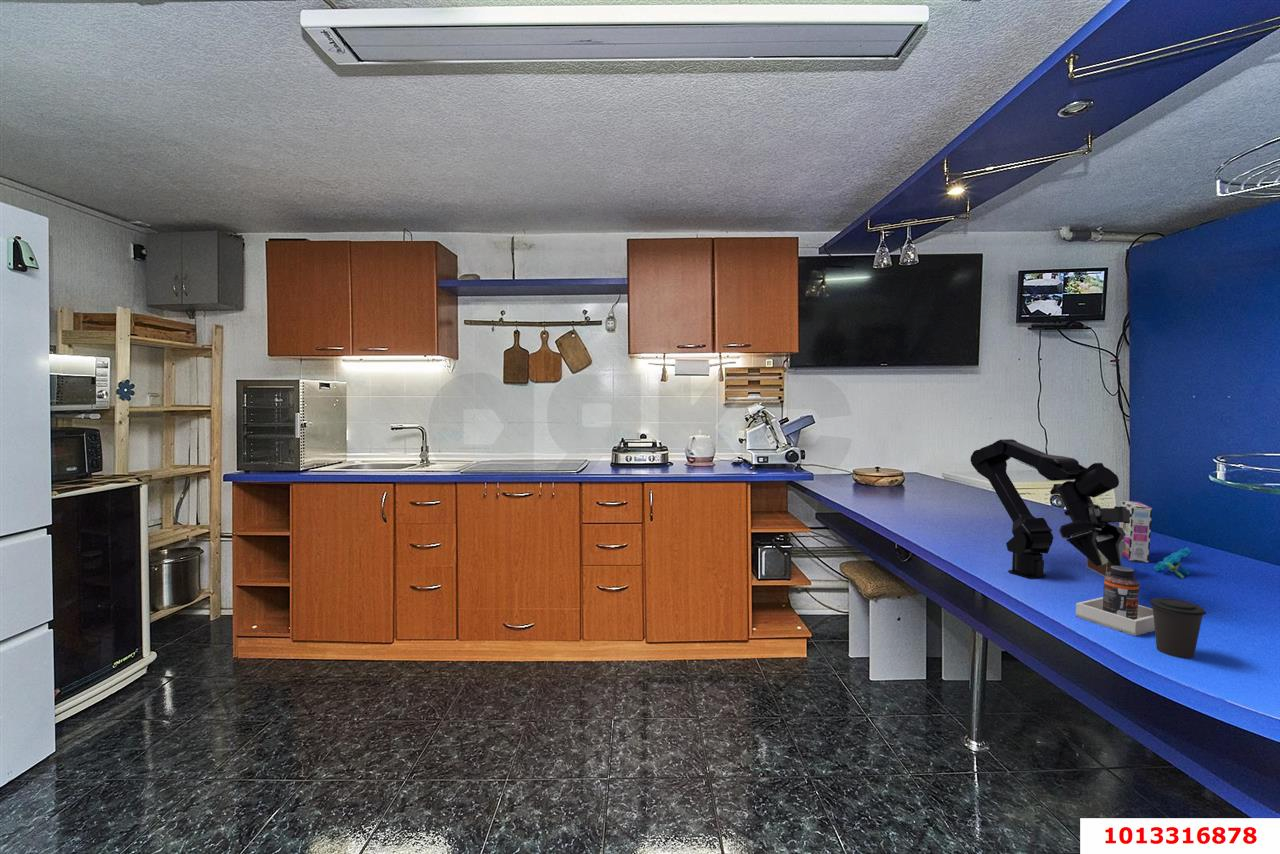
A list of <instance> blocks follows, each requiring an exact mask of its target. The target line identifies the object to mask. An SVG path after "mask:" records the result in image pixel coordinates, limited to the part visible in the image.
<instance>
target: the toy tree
mask: <svg viewBox="0 0 1280 854" xmlns="http://www.w3.org/2000/svg"><path fill="white" fill-rule="evenodd" d="M1190 552H1192V549H1190V548H1189V547H1185V548H1180V549H1179V550H1178V551H1174V552H1172V553H1171V554H1170V555H1168V556H1166V557H1164V558H1163V560H1162V561H1160V560H1159V561H1158V562H1157V563H1156V565H1154V566H1153V570H1154V571H1156V572H1158V571H1163V570H1165V569H1166V568H1168V569H1169V571H1170V572H1171V573H1173V572H1174V573H1175V574H1176V575H1177V576H1178V577H1180V578H1181V579H1184V578H1185V576H1184V575H1186V576H1189V575H1191V572H1190V571H1189V570H1188V569H1186V568H1185V566H1183V565H1182V564H1181V563H1182V562H1181V560H1182V558H1186V557H1187V556H1188V555H1189V554H1190ZM1178 569H1179V570H1180V571H1181V572H1183V573H1184V575H1183V574H1182V573H1181V572H1179V571H1178Z"/></svg>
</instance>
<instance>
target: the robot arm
mask: <svg viewBox="0 0 1280 854" xmlns="http://www.w3.org/2000/svg"><path fill="white" fill-rule="evenodd" d="M1011 458H1012V459H1013V460H1014V459H1015V460H1017V461H1019V462H1021V463H1023V464H1026V465H1028V466H1031V467H1033V468H1035V469H1036V470H1037V473H1038V474H1040V475H1041V476H1042V477H1044V478H1045V479H1047V480H1048V481H1050V482H1056V481H1057V482H1058V481H1061V482H1062V481H1065V482H1063V483H1054V484H1053V486H1052V488H1051V490H1050V492H1049V493H1050V495H1052V496H1053V495H1059V497H1060V499H1061V501H1062V503H1063V506H1064V507H1065V509H1066V510H1064V512H1063V513H1064V515H1065V516H1067V517H1069V518H1070V520H1071V522H1069V523H1065V524H1063V525H1061V526H1060V527H1059V530H1058V531H1059V533H1060V536H1061V538H1062V539H1064V540H1065V539H1066V542H1068V544H1069V543H1070V544H1071V545H1072V546H1073V547H1074V548H1075V549H1077V551H1079V552H1080V553H1081V554H1083V556H1085V558H1086V559H1087V558H1088V559H1089V560H1090V561H1092V562H1093V563H1094V564H1095V565H1096V566H1101V565H1102V562H1101V558H1100V555H1099V552H1098V550H1099V551H1100V552H1101V553H1102V554H1103V555H1104V556H1105V557H1106V558H1107V559H1108V560H1109V561H1110V563H1111V564H1112V565H1113V566H1122V559H1121V560H1120V553H1119V543H1120V542H1121V540H1123V539H1124V536H1126V534H1125V532H1124V530H1123V528H1121V527H1119V525H1114V524H1111V523H1120V522H1123V523H1130V517H1132V514H1131V513H1130V510H1128V509H1126V507H1123V506H1121V505H1120V506H1121V507H1120V506H1113V508H1112V507H1108V508H1106V507H1105V508H1102V507H1101V506H1100V505H1098V504H1095V503H1094V501H1093V500H1092V498H1096V497H1099V496H1101V495H1103V494H1105V493H1108V492H1109V491H1112V490H1114V489H1117V488H1118V487H1119V484H1120V480H1119V479H1120V478H1119V477H1118V475H1117V473H1115V472H1113V471H1112V470H1111V469H1110V468H1108V467H1106V466H1104V463H1102V462H1094V463H1092V464H1090V465H1089V466H1088V467H1086V466H1083V465H1082V464H1080V463H1079V461H1078V459H1075V458H1074V457H1073V458H1072V457H1069V456H1063V455H1056V454H1055V455H1054V454H1048V453H1046V452H1044V451H1041V450H1039V449H1035V448H1034V447H1032V446H1031V447H1030V446H1028V445H1025V444H1023V443H1020V442H1019V441H1017V440H1015V439H1013V438H1011V439H1010V438H1009V439H1003V438H1002V439H998V440H996V441H995V442H993V443H991V444H989V445H985V446H984V447H981V448H980V449H976V450H974V451H973V452H972V454H971V455H970V464H971V465H972V467H973V468H974V469H975V471H976V472H977V473H978V474H980V476H982V477H984V478H985V479H987V481H989V483H990V485H991V486H992V488H993V490H994V492H995V493H996V495H997V497H998V498H999V501H1000V502H1001V504H1002V505H1003V507H1004V509H1005V510H1006V512H1007V514H1008V516H1009V517H1010V520H1011V522H1012V528H1011V533H1012V535H1013V536H1012V537H1011V538H1010V539H1009V540H1008V541H1007V542H1006V543H1005V545H1006V548H1007V551H1008V552H1011V553H1012V562H1011V563H1012V564H1011V566H1012V567H1011V569H1008V570H1007V572H1008V573H1010V574H1014V575H1017V576H1020V577H1023V578H1028V579H1036V578H1040V577H1046V576H1047V574H1046V573H1044V569H1045V560H1044V559H1043V556H1044V555H1043V554H1048V553H1049V551H1050V548H1051V546H1052V545H1053V541H1054V535H1053V533H1052V532H1053V529H1052V528H1050V525H1048V522H1047V520H1046V519H1045V518H1044V517H1035V516H1034V515H1033V514H1032V513H1031V511H1030V510H1029V508H1028V507H1027V505H1026V503H1025V502H1024V500H1023V498H1022V497H1021V495H1020V493H1019V492H1018V489H1017V488H1016V486H1015V485H1014V484H1013V482H1012V480H1011V478H1010V477H1009V475H1008V473H1007V467H1008V462H1007V461H1009V460H1011Z"/></svg>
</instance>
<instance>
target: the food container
mask: <svg viewBox="0 0 1280 854" xmlns="http://www.w3.org/2000/svg"><path fill="white" fill-rule="evenodd" d="M1125 548H1126V545H1125V542H1124V540H1121V542H1120V543H1119V553H1120V560H1121V561H1122V558H1123V556H1122V551H1123V549H1125ZM1098 552H1099V555H1100V558H1101V562H1102V565H1101V566H1096V565H1095V564H1094V563H1093V562H1092V561H1090V560H1089V559H1088V558H1087V557H1086V568H1088V569H1089V570H1091V571H1093V572H1094V573H1097V574H1099V575H1101V576H1102V577H1104V578H1105V577H1106V576H1107V575H1110V574H1111V572H1110V569H1111V566H1113V565H1112V564H1111V563H1110V561H1109V560H1108V559H1107V558H1106V557H1105V556H1104V555H1103V554H1102V553H1101V552H1100V551H1099V550H1098Z"/></svg>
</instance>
